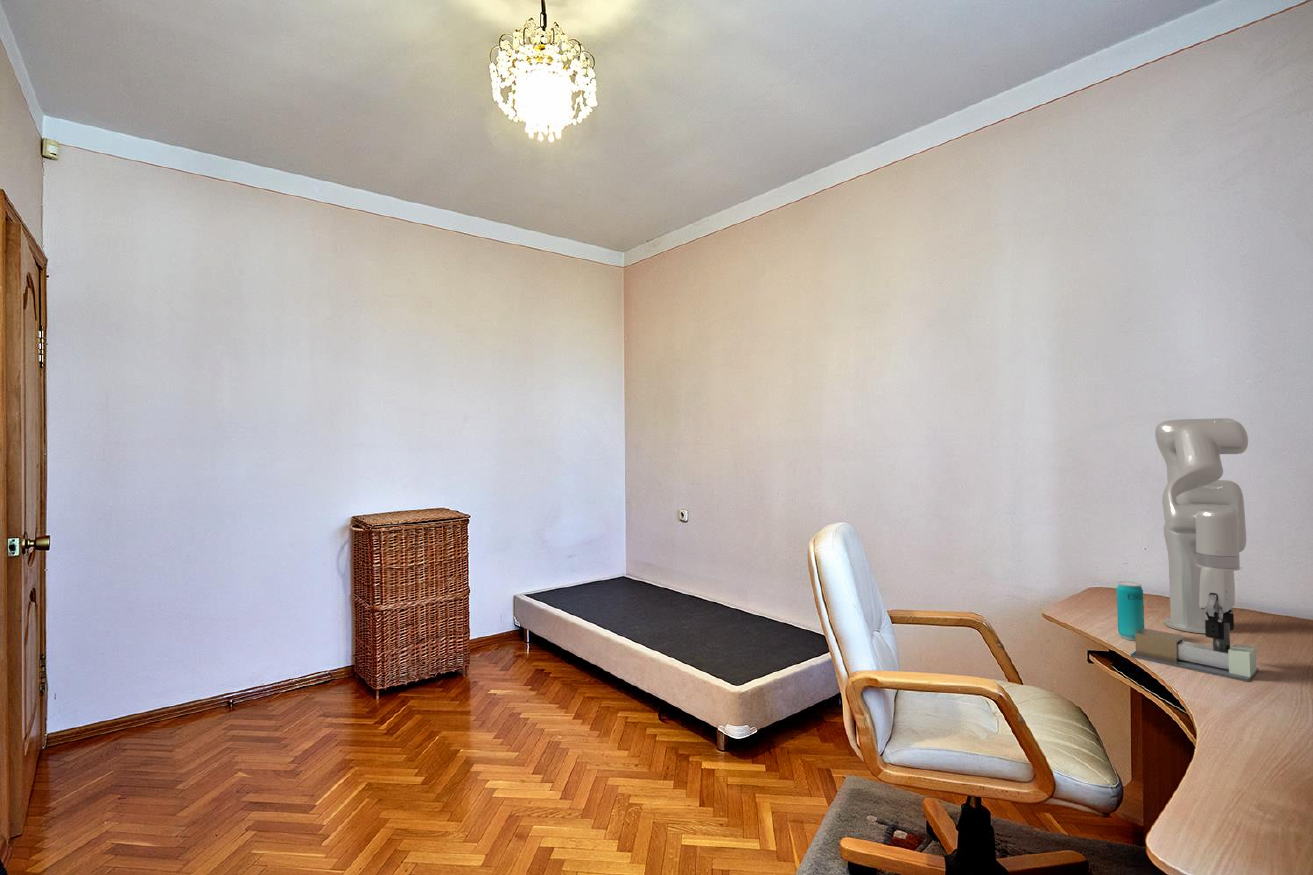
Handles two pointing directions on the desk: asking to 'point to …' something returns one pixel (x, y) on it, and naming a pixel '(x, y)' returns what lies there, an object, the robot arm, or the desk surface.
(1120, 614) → the beverage can
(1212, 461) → the robot arm
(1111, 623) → the desk surface
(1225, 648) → the grey slider block
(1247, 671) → the socket
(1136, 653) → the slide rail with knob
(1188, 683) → the desk surface
